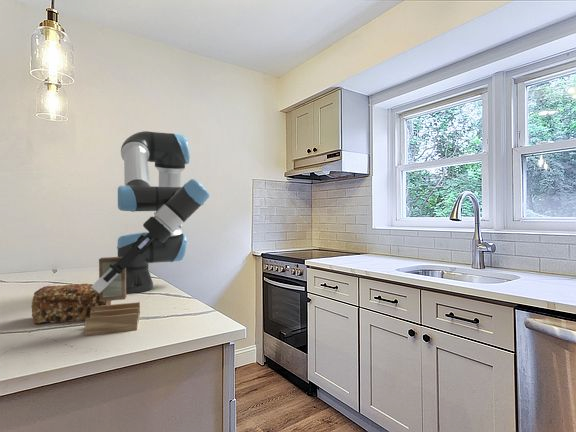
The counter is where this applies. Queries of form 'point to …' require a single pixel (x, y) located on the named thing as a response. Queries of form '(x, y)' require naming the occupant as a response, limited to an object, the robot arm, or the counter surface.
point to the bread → (65, 303)
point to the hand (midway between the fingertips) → (97, 287)
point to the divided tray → (113, 318)
